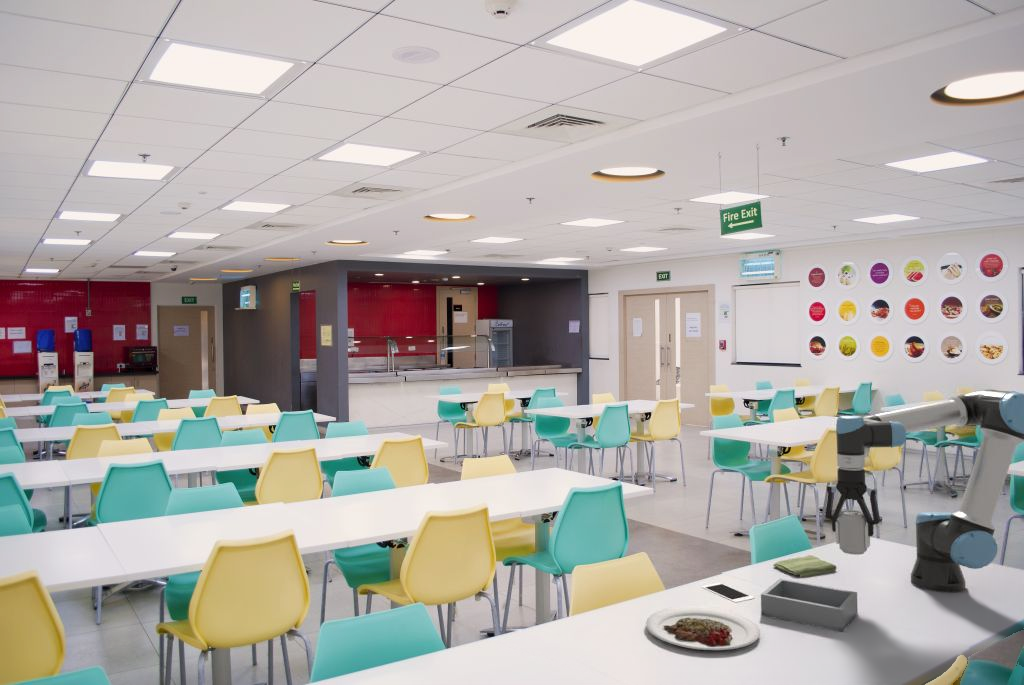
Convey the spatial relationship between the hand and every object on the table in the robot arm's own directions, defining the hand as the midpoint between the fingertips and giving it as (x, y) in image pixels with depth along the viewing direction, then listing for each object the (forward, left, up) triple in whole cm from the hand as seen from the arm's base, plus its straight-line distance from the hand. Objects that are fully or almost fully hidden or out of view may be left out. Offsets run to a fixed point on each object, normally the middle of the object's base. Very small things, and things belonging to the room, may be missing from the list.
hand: (852, 544), depth 223 cm
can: (0, 0, -2) cm, 2 cm away
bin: (+8, +17, -17) cm, 25 cm away
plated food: (+28, +46, -18) cm, 57 cm away
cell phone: (+34, +12, -18) cm, 41 cm away
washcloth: (+21, -25, -18) cm, 37 cm away
